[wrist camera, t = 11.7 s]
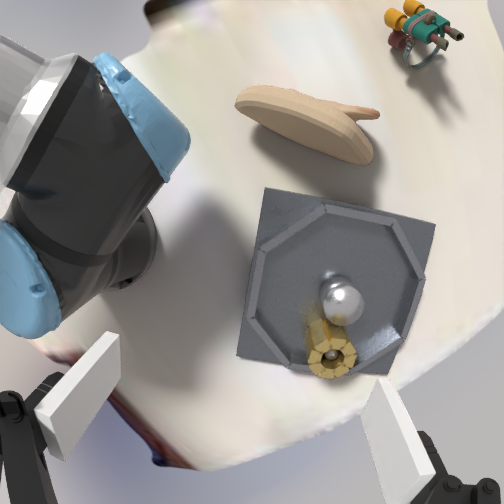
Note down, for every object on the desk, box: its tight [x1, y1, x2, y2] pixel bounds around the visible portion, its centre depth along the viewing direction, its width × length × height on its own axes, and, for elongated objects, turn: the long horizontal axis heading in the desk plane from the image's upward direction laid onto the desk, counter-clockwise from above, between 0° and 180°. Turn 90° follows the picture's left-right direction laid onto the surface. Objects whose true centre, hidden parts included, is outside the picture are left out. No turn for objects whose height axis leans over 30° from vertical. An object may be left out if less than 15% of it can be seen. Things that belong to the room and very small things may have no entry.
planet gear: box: [304, 317, 357, 379], centre depth 40 cm, size 6×6×6 cm
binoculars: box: [384, 0, 464, 69], centre depth 30 cm, size 9×9×10 cm
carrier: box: [236, 187, 436, 375], centre depth 40 cm, size 24×24×6 cm
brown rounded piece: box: [235, 85, 380, 166], centre depth 34 cm, size 13×8×15 cm
